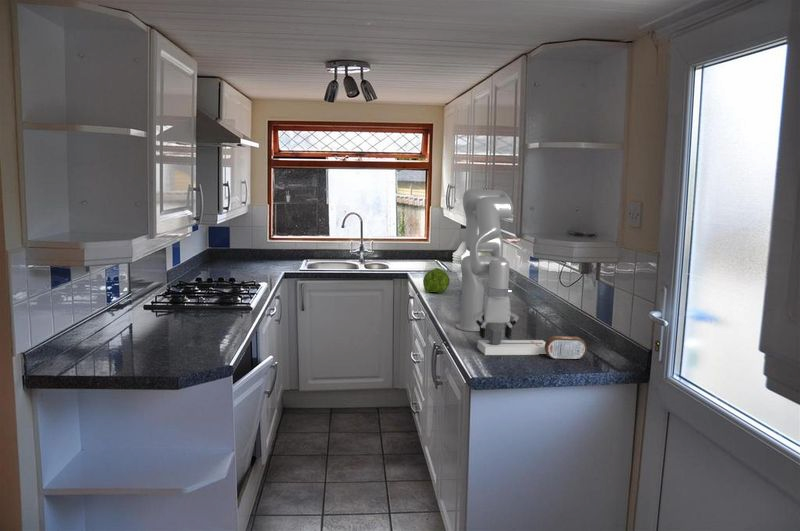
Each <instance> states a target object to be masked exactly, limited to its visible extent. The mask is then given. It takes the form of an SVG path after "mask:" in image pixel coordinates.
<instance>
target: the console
mask: <svg viewBox="0 0 800 531" xmlns="http://www.w3.org/2000/svg"><path fill="white" fill-rule="evenodd" d="M545 343H546V341H544V340H543V339H514V340H513V339H501V344H492V343H491V342H489V339H486V340H485V339H479V340H477V346H476V347H477V349H478V350H479V351H480V352H481V353H482V354H484V355H485V356H522V355H523V356H533V355H534V356H539V354H547V353H546V352H545Z"/></svg>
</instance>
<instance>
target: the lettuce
mask: <svg viewBox="0 0 800 531" xmlns="http://www.w3.org/2000/svg"><path fill="white" fill-rule="evenodd" d="M422 282H423V289H424V290H425V291H426V292H427V291H428V292H427V293H429V292H442V293H444V292H445V291H447V289H448V288H449V286H450V283H451V282H450V276H449V275H448V273H447V272H446V271H445V270H443V269H441V268H438V267H436V268H434V269H431V270H429V271H428V272H427V273H425V274H424V276H423V280H422Z"/></svg>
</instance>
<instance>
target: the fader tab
mask: <svg viewBox="0 0 800 531" xmlns="http://www.w3.org/2000/svg"><path fill="white" fill-rule="evenodd" d="M488 340H489V342H491V343H492V344H501V340H502V330H500V328H498V327H489V332H488Z"/></svg>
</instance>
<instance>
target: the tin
mask: <svg viewBox="0 0 800 531" xmlns="http://www.w3.org/2000/svg"><path fill="white" fill-rule="evenodd" d="M545 342H546V343H545V352H546V353H547V355H546V356H548V357H550V358H551V359H553V360H559V359H579V360H581V359H582V358H584V357H585V356H586V353H587V349H588V347H587V345H586V342H585V341H584V339H582V338H581V337H578V336H565V335H553V336H551V337H549V338H548V339H547V340H546V341H545Z"/></svg>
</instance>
